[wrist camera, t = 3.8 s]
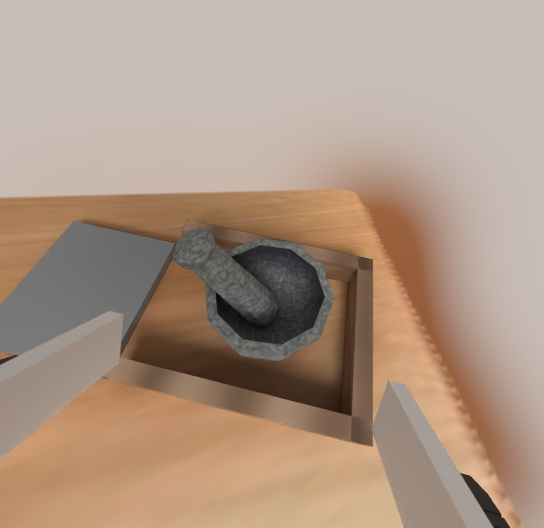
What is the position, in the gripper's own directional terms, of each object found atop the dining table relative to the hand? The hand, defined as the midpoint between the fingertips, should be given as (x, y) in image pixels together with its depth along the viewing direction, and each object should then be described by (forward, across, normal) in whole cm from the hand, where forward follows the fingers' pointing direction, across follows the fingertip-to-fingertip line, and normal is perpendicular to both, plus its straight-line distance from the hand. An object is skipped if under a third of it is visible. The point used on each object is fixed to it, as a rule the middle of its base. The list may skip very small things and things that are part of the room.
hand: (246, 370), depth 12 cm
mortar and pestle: (+12, -1, -3) cm, 13 cm away
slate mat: (+12, -18, -4) cm, 22 cm away
